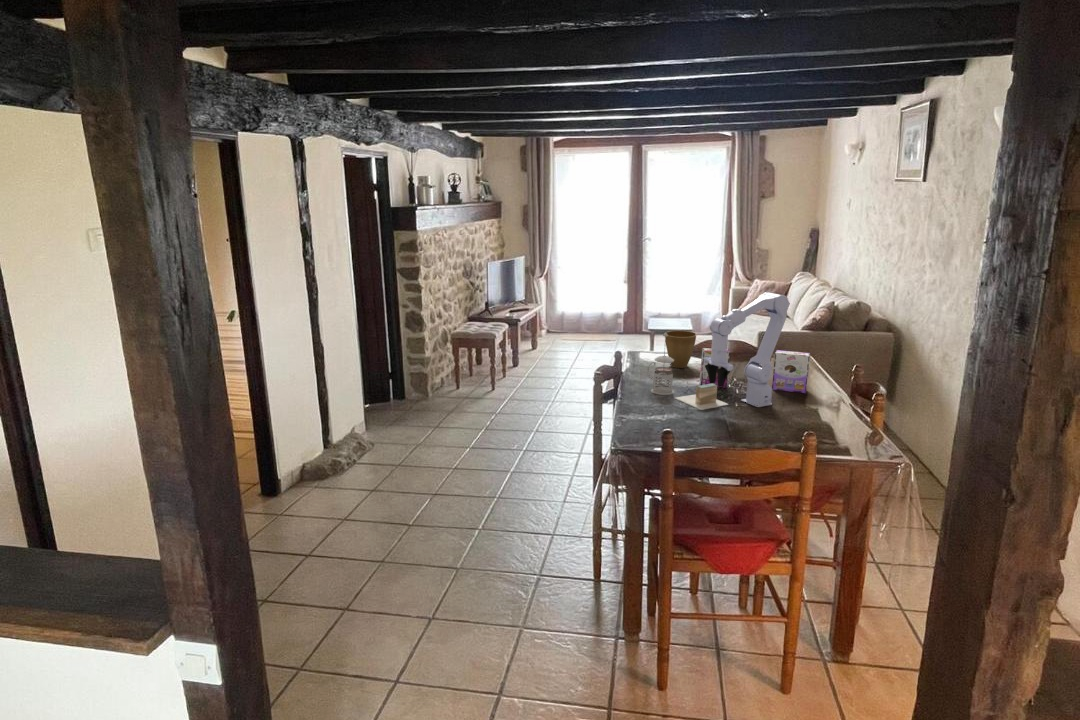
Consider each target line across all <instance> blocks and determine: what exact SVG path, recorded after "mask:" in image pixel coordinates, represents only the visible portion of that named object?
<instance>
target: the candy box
mask: <svg viewBox="0 0 1080 720" xmlns="http://www.w3.org/2000/svg"><path fill="white" fill-rule="evenodd" d="M773 361H774V362H773V363H774V364H773V372H772V373H773V374H772V383H771V384H772V386H771V388H772V391H773V390H774V391H783V392H791V393H800V394H801V393H802V394H806V393H807V390H808V389H807V388H808V381H809V372H810V361H811V353H810V352H801V351H789V350H782V349H781V350H779V349H778V350H777V349H776V351H775V352H774V360H773Z"/></svg>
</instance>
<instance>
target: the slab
mask: <svg viewBox="0 0 1080 720" xmlns="http://www.w3.org/2000/svg"><path fill="white" fill-rule="evenodd" d="M695 388H696V390H695V394H696V400H695V403H697V404H699V405H703V404H709V403H715V402H716V399H717V398H718V397H717V395H718V388H717V385H715V384H706V385H700V384H699V385H696V387H695Z"/></svg>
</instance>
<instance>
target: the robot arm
mask: <svg viewBox="0 0 1080 720" xmlns="http://www.w3.org/2000/svg"><path fill="white" fill-rule="evenodd" d="M789 307H790V301H789V298H788V296H786V295H785V294H779V293H774V292H771V291H766V292H763V293H762V294H759V296H758V298H756V299H754V301H752V302H750V303H749V304H747V305H746V306H744V307H743V308H741V309H740V308H734V309H732V310H731V312H729V313H727V314H726V315H722V316H721V318H719V317H717V318H715V319H713V320H712V322H711V324H710V325H709V329H710V332H711V337H712V338H711V348H712V349H711V358H709V357H704V363H708V364H707V365H705V368H706V370H707V373H708V376H709V381H710V383H715V380H716V374H717V375H718V386H719V387H720V386H723V385H724V382H725V380H726V377H727V376H728V375H729V374H730V373H731V372H732V371H733V370H734V365H732V363H730V362H729V363H728V362H726V355H727V349H728V341H729V340H728V339H729V336H730V334H731V333H732V331H733V330H734V329H735V328H737V327H738V326H739V325H741V324H743V323H744V322H746V319H747V317H749V316H752V315H753V314H755V313H757V312H759V311H761V310H764V311H766V312H767V313H768V315H769V318H770V319H769V321H768V324H767V326H766V329H765V332H764V334H763V337H762V340H761V342H760V345H759V347H758V350H757V351H756V355H755V356H752V357H750V360H749V361H748V363H747V364H746V365H745V367H744V371H743V373H744V375H745V376H746V380H747V382H746V394H745V398H743V399H740V402H742V403H745V402H746V403H745V404H747V405H750V406H753V407H756V408H762V407H768V406H772V405H773V403H772V398H773V397H772V395H773V390H772V386H771V385H769V384H768V383H769V381H770V380H771V378H772V376H773V374H772V373H773V372H772V370H773V369H774V364H773V363H772V361H771V358H772V357H773V354H774V351H775V348H776V346H777V343H778V340H779V339H780V336H781V333H782V330H783V328H784V325H785V322H786V320H787V316H788V315H787V314H788V309H789ZM718 367H721V368H719V369H718ZM727 378H728V377H727Z"/></svg>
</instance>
